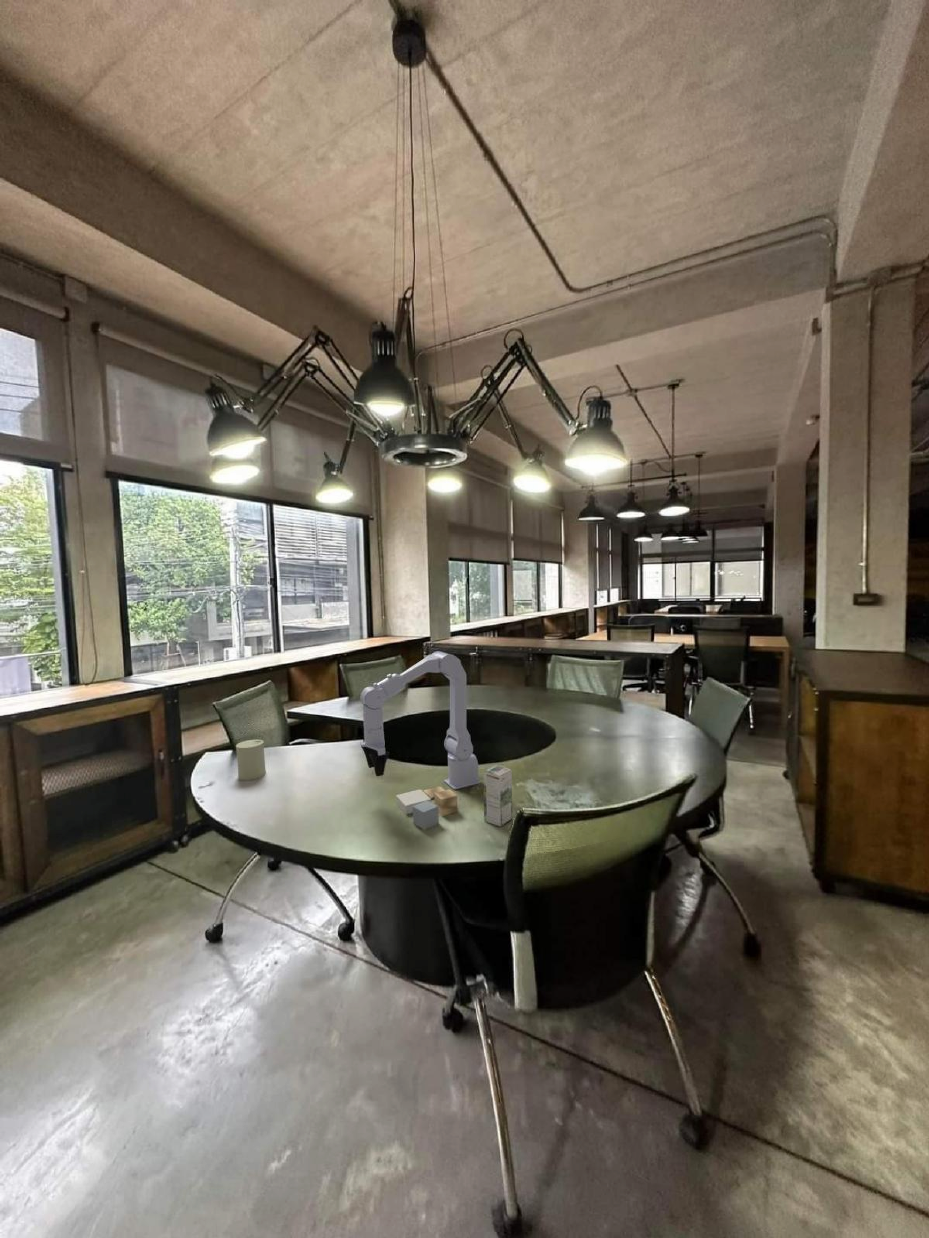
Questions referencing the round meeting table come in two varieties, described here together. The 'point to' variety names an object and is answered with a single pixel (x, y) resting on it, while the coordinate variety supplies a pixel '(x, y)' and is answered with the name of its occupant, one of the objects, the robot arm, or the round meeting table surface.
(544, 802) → the round meeting table surface
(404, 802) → the base block
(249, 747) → the can
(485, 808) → the syrup box
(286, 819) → the round meeting table surface
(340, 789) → the round meeting table surface
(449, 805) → the maple cube
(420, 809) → the slate cube
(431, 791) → the tile
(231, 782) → the round meeting table surface
